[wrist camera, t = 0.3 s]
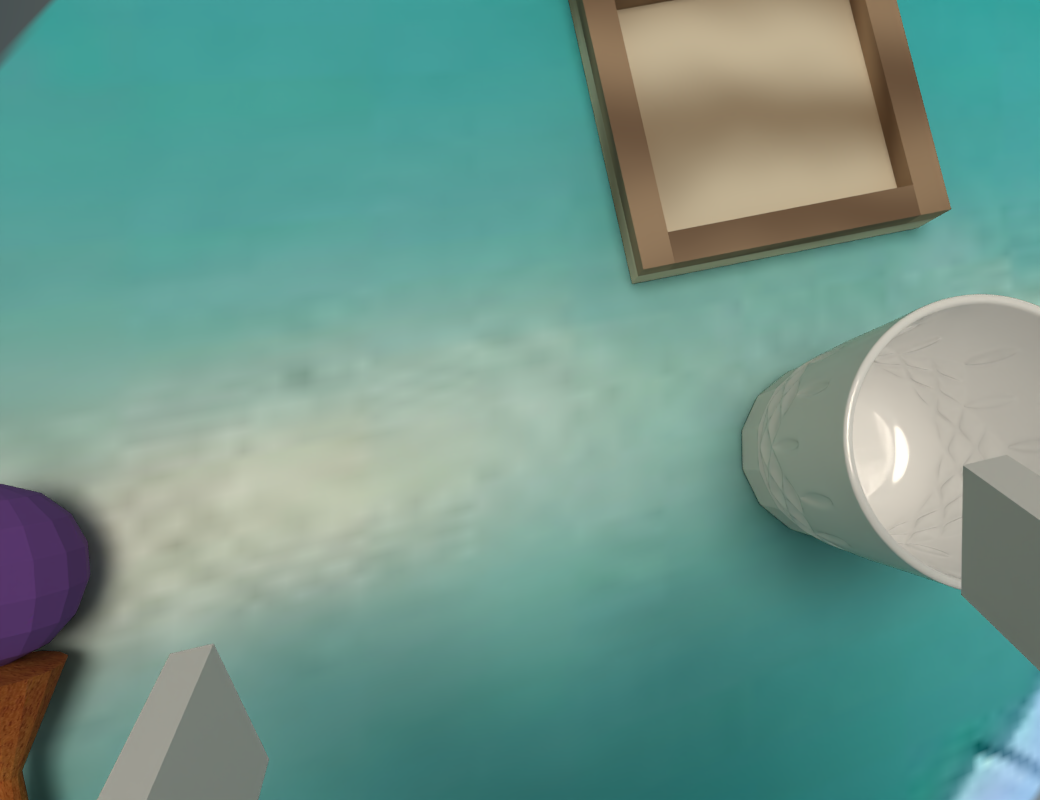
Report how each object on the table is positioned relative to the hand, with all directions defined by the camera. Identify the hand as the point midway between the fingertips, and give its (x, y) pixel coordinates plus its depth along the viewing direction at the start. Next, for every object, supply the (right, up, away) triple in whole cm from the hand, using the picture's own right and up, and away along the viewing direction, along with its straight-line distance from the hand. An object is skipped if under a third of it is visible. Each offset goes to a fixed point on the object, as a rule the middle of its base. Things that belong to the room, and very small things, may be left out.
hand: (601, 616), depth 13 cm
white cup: (+10, +2, +17) cm, 20 cm away
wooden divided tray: (+7, +20, +18) cm, 28 cm away
